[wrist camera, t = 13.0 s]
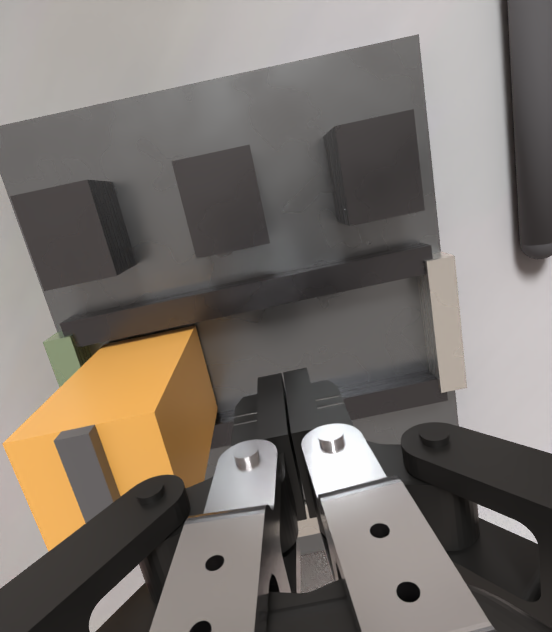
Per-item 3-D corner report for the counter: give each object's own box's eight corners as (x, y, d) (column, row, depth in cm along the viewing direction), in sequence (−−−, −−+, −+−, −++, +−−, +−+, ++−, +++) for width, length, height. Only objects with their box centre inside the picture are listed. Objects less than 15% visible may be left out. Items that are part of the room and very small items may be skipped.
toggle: (195, 325, 17) (149, 421, 10) (217, 408, 18) (190, 550, 11) (104, 344, 17) (-8, 453, 10) (131, 425, 18) (47, 579, 11)
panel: (404, 48, 16) (448, 4, 12) (454, 499, 21) (496, 564, 18) (8, 135, 16) (-66, 117, 13) (156, 560, 22) (134, 636, 18)
